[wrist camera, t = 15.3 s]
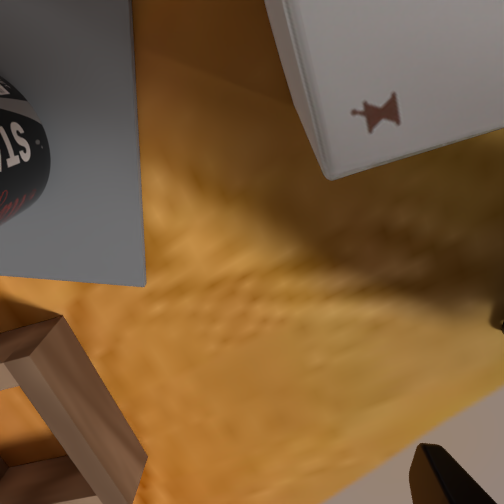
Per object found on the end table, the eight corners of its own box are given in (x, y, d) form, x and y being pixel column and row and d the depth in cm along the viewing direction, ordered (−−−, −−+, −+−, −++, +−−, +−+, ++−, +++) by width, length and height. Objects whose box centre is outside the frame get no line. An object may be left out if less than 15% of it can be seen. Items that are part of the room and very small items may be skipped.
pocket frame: (63, 315, 23) (29, 356, 20) (147, 456, 28) (130, 507, 25) (-101, 361, 25) (-155, 403, 22) (2, 485, 30) (-31, 536, 27)
